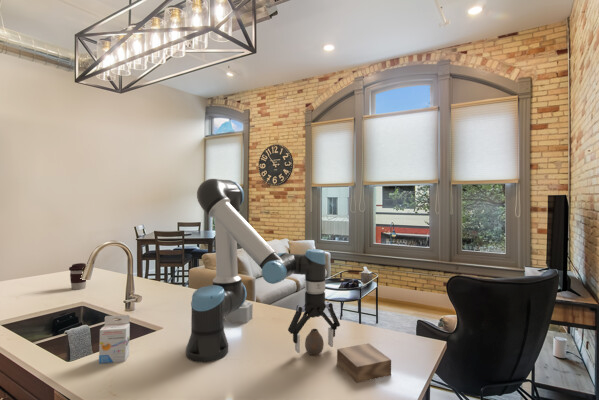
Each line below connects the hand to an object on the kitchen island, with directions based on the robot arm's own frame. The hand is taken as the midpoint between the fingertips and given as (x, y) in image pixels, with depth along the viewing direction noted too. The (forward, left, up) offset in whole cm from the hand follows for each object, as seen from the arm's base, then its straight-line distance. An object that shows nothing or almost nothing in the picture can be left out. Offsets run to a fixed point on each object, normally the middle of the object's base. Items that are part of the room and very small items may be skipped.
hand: (314, 348), depth 121 cm
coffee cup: (-102, +127, -2) cm, 163 cm away
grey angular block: (-20, +44, -2) cm, 48 cm away
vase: (0, 0, -2) cm, 2 cm away
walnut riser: (+11, -16, -2) cm, 19 cm away
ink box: (-68, +20, -2) cm, 71 cm away
